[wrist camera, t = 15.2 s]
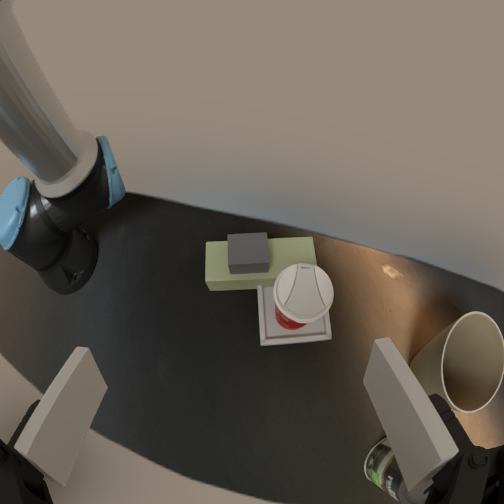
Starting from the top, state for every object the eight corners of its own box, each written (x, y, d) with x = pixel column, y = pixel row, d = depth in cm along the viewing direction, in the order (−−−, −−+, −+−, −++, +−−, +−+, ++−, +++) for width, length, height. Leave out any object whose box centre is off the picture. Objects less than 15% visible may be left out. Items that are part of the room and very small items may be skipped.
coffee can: (375, 492, 30) (410, 519, 17) (355, 457, 34) (389, 481, 21) (419, 459, 32) (462, 474, 19) (402, 423, 36) (447, 433, 23)
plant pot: (450, 332, 43) (503, 310, 28) (448, 403, 36) (503, 402, 22) (391, 332, 44) (441, 310, 29) (386, 412, 37) (437, 421, 23)
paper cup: (270, 290, 47) (275, 257, 34) (314, 293, 47) (335, 261, 34) (267, 336, 44) (271, 319, 31) (313, 338, 43) (336, 322, 31)
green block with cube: (210, 347, 43) (200, 341, 35) (210, 254, 51) (201, 230, 43) (329, 339, 44) (345, 331, 35) (316, 249, 51) (327, 224, 43)
